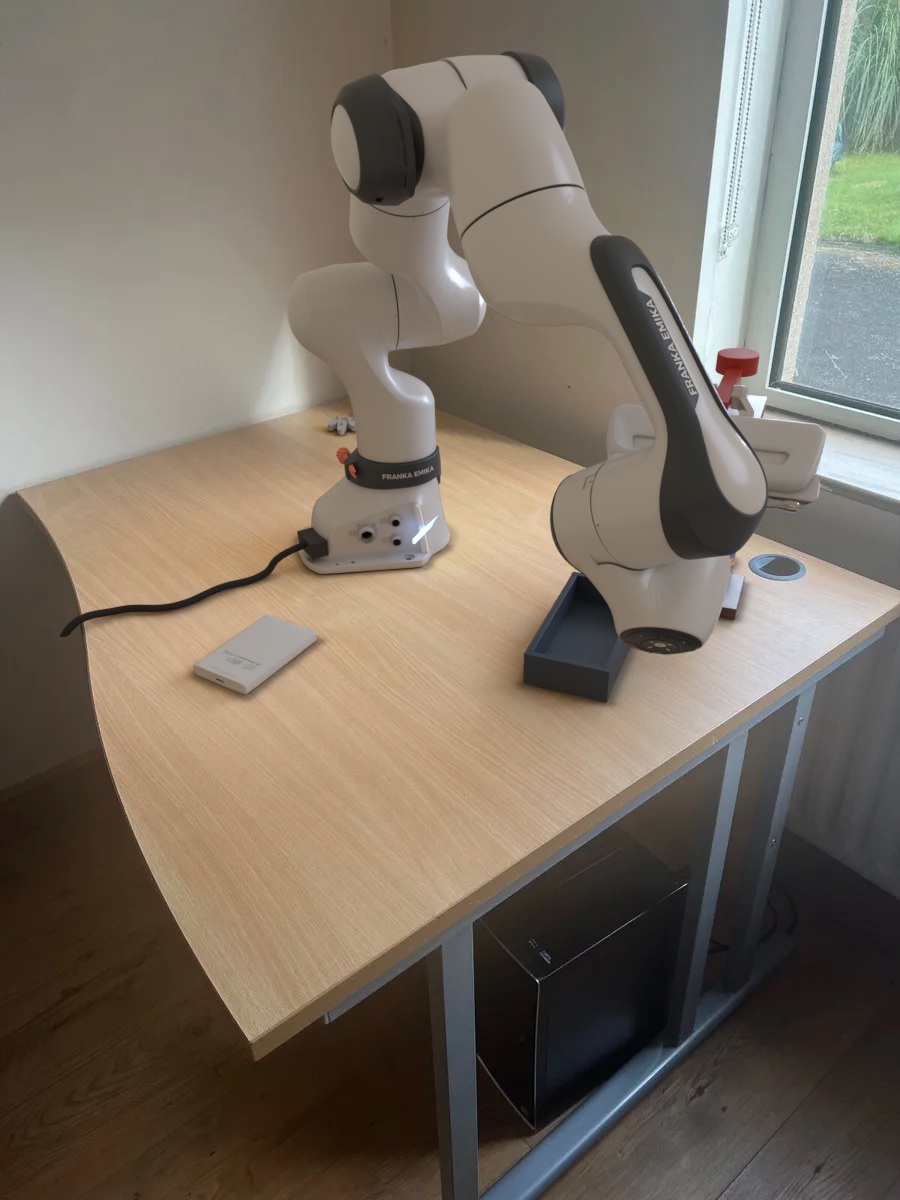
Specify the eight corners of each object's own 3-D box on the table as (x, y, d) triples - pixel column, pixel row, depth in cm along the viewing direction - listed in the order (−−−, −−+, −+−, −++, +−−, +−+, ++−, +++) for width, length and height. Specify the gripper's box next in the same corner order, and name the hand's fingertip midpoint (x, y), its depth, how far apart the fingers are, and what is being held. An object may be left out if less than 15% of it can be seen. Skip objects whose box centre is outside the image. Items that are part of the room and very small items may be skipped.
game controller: (329, 436, 165) (328, 423, 163) (324, 417, 175) (323, 404, 173) (359, 433, 166) (358, 420, 164) (352, 414, 175) (351, 402, 174)
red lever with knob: (741, 414, 83) (744, 394, 82) (695, 409, 85) (697, 389, 84) (759, 367, 96) (761, 349, 95) (718, 364, 97) (720, 346, 96)
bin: (606, 702, 94) (609, 672, 92) (523, 683, 97) (523, 653, 95) (644, 612, 109) (648, 584, 107) (571, 598, 112) (573, 571, 110)
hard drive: (317, 642, 105) (246, 696, 96) (267, 624, 109) (194, 674, 100) (316, 631, 104) (244, 684, 95) (265, 613, 108) (192, 663, 99)
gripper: (820, 493, 75) (842, 375, 80) (589, 463, 82) (624, 356, 87) (810, 534, 80) (831, 420, 86) (594, 502, 87) (627, 399, 93)
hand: (725, 388), depth 87 cm, fingers closed on red lever with knob, 2 cm apart
